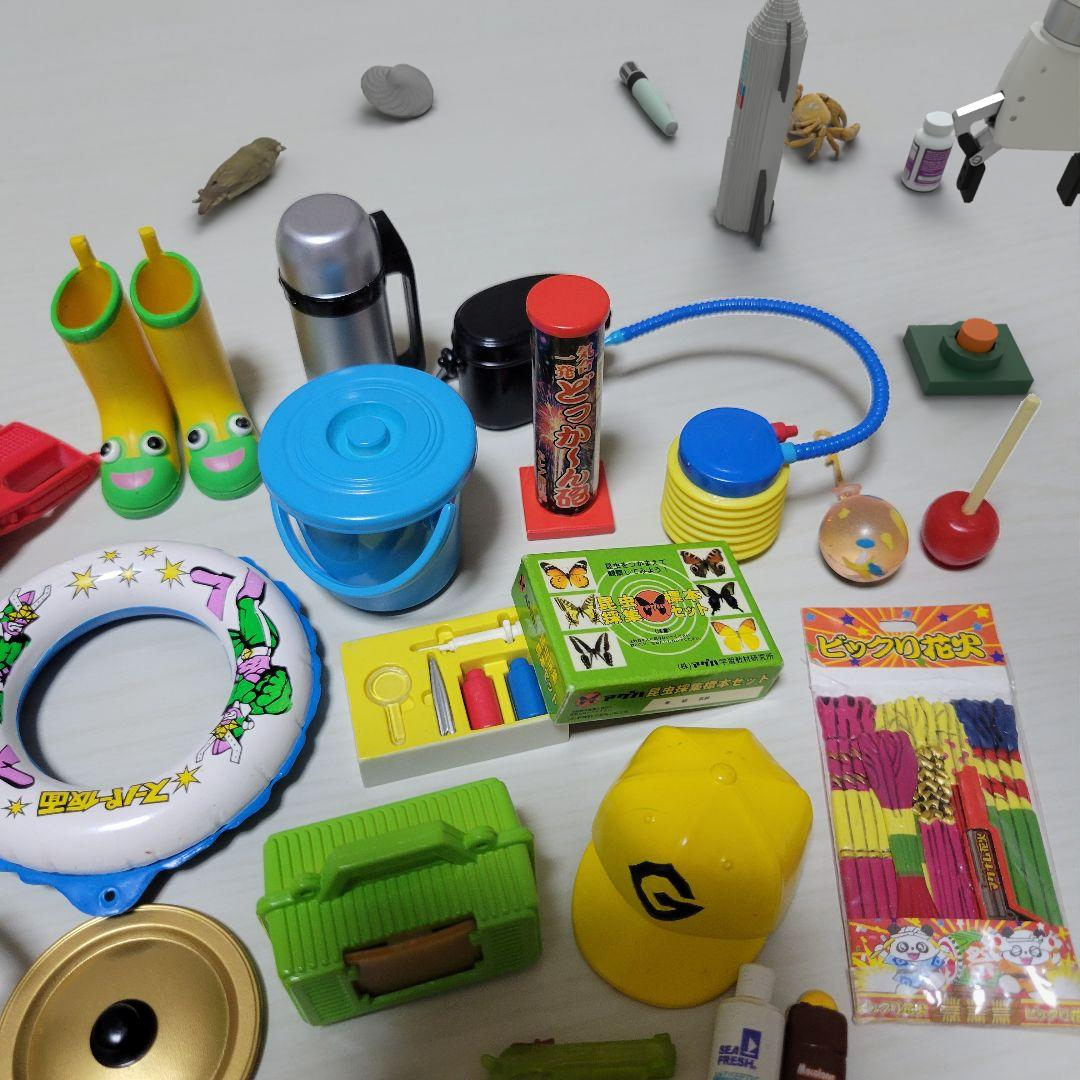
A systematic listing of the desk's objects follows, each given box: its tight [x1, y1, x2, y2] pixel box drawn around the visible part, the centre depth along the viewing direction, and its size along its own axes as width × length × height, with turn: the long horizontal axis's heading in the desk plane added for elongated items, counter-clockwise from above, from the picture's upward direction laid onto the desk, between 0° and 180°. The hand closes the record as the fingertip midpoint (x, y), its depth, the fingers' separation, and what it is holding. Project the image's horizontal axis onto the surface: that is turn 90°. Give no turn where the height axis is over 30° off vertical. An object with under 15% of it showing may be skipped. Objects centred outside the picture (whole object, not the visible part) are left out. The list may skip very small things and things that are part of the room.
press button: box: [956, 317, 998, 353], centre depth 110 cm, size 4×4×2 cm
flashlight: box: [618, 60, 679, 137], centre depth 149 cm, size 3×4×20 cm
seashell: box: [360, 63, 434, 119], centre depth 149 cm, size 12×6×10 cm
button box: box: [903, 320, 1035, 397], centre depth 112 cm, size 12×10×4 cm
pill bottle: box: [901, 111, 955, 192], centre depth 133 cm, size 5×5×10 cm
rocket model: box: [714, 0, 809, 248], centre depth 120 cm, size 14×7×30 cm, turn 11°
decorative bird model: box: [191, 136, 287, 216], centre depth 135 cm, size 5×20×5 cm, turn 151°
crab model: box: [784, 82, 861, 161], centre depth 143 cm, size 16×13×6 cm
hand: (1013, 196), depth 94 cm, fingers open, 9 cm apart
